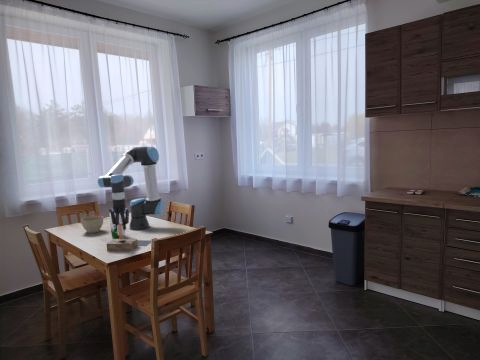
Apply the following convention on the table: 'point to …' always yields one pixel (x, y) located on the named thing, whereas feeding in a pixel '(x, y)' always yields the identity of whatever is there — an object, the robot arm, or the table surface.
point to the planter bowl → (92, 223)
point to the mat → (143, 242)
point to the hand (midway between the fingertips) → (121, 234)
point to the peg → (120, 231)
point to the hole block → (122, 245)
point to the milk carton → (114, 227)
